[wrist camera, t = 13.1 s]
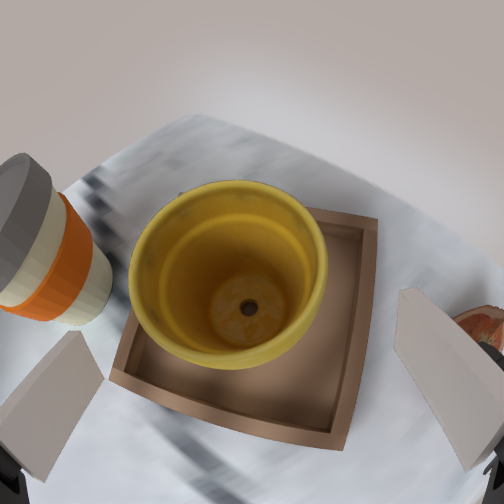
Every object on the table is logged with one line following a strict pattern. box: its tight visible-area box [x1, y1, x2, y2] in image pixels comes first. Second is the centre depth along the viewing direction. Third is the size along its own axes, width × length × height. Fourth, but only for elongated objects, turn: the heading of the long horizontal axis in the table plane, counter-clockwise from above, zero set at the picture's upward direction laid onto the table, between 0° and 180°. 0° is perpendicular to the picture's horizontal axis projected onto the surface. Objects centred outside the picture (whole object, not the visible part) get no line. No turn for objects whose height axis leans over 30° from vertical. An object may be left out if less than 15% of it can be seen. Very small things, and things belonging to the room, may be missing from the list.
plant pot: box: [128, 180, 328, 370], centre depth 18 cm, size 10×10×10 cm
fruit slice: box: [452, 305, 504, 353], centre depth 16 cm, size 8×7×5 cm
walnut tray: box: [109, 193, 378, 451], centre depth 22 cm, size 18×18×3 cm
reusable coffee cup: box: [0, 153, 113, 325], centre depth 20 cm, size 13×13×15 cm
